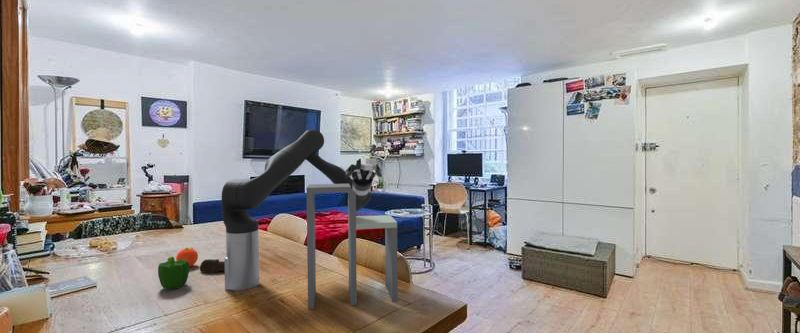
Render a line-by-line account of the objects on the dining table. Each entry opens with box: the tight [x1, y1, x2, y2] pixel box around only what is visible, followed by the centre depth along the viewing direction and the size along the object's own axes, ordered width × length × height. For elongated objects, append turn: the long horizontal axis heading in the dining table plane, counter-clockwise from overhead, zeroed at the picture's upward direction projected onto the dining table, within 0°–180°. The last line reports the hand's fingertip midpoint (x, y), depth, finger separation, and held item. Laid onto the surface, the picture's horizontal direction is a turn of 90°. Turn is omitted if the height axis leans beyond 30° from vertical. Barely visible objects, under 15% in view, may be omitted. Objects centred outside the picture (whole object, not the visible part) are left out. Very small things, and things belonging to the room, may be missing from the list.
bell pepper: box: [157, 256, 190, 290], centre depth 107 cm, size 8×8×10 cm
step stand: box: [306, 183, 399, 310], centre depth 99 cm, size 24×12×32 cm, turn 101°
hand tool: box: [199, 259, 225, 274], centre depth 122 cm, size 19×4×5 cm, turn 91°
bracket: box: [360, 158, 377, 171], centre depth 115 cm, size 4×20×4 cm, turn 12°
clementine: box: [175, 247, 199, 268], centre depth 128 cm, size 8×7×7 cm
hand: (365, 161), depth 120 cm, fingers closed on bracket, 3 cm apart
